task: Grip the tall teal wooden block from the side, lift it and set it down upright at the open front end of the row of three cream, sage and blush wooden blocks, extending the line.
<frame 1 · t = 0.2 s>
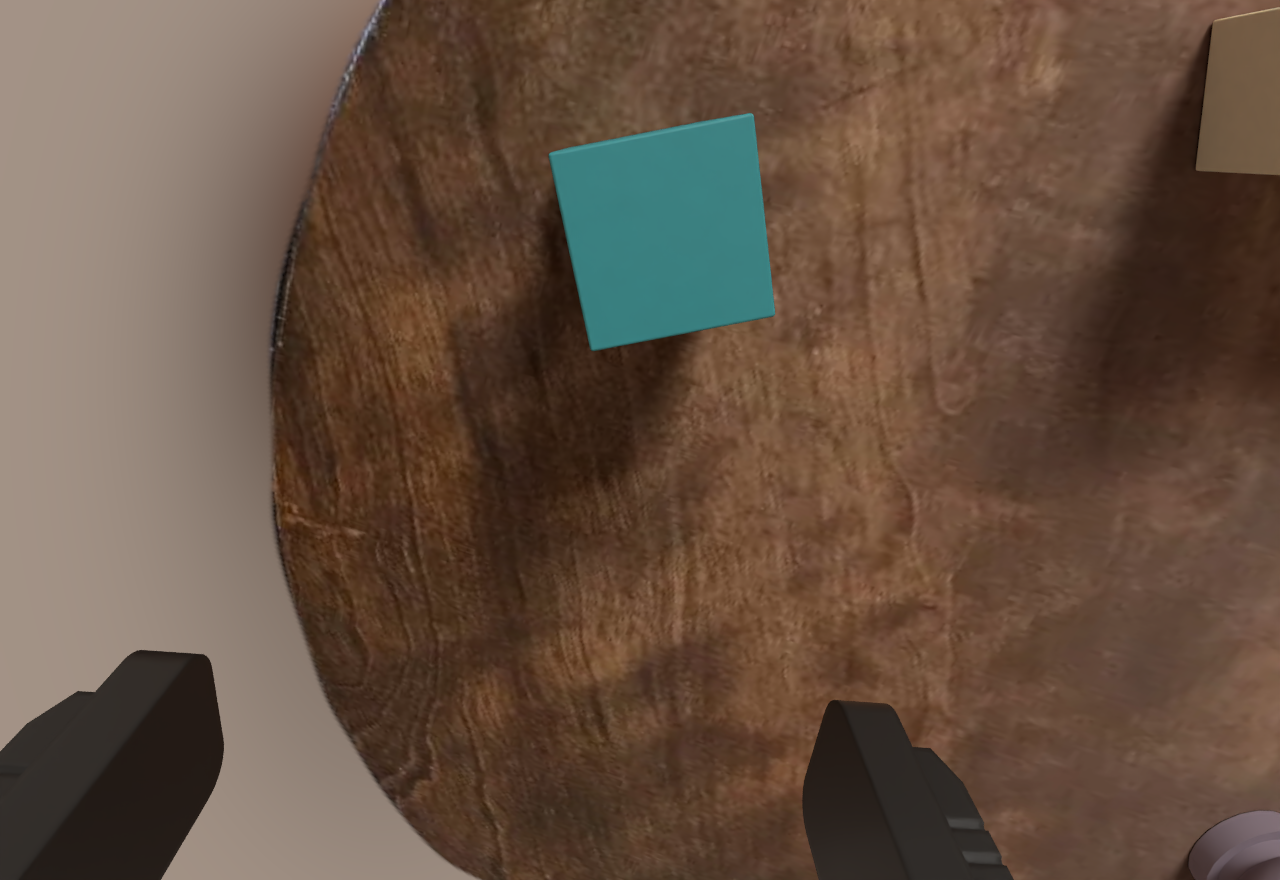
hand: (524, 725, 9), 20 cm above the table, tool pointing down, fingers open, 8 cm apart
line block 1: (1271, 85, 26), on the table
teal block: (645, 207, 26), on the table
cat figurine: (1241, 845, 42), on the table
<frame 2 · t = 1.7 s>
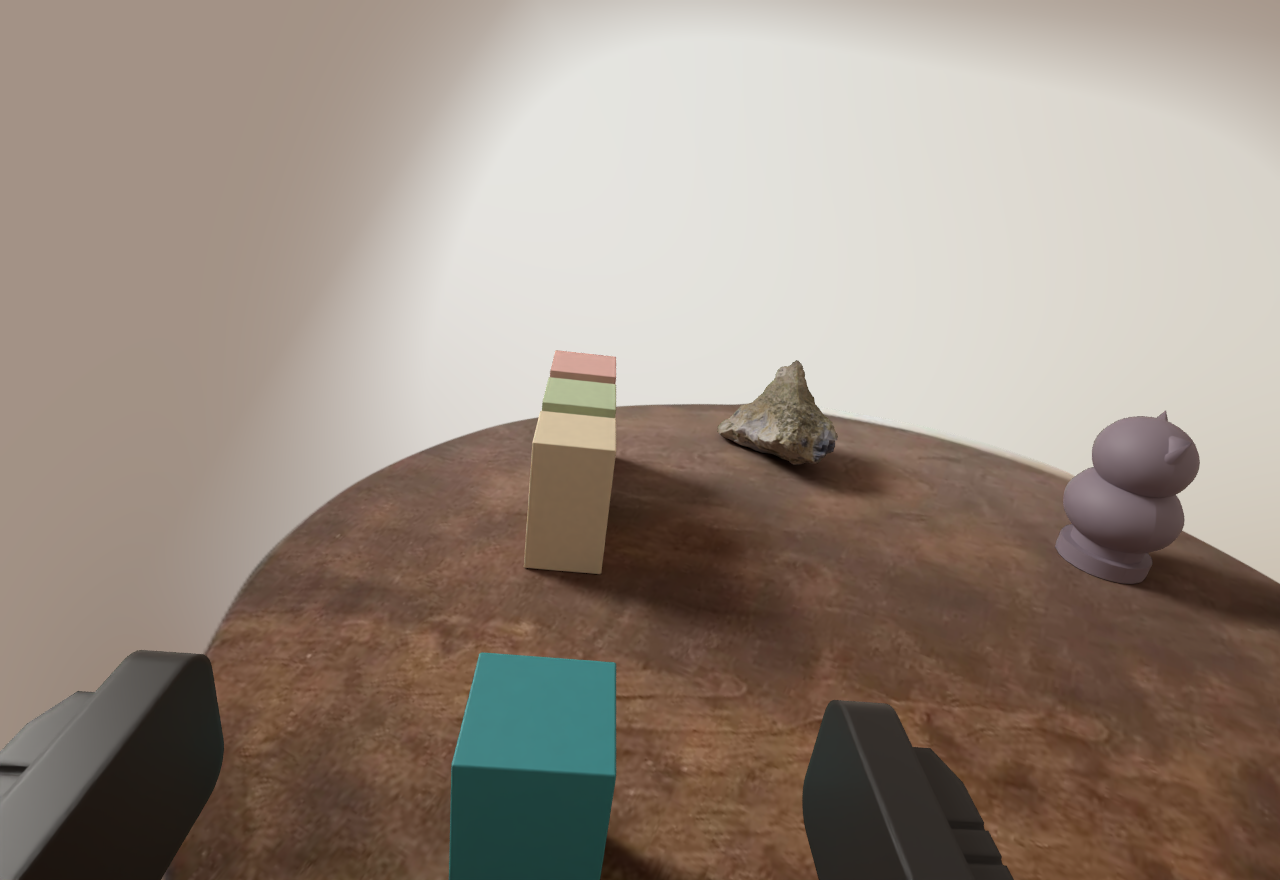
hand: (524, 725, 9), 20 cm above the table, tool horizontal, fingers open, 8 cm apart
line block 2: (570, 502, 55), on the table
line block 1: (565, 549, 49), on the table
rock: (771, 458, 67), on the table
cat figurine: (1096, 560, 57), on the table
line block 3: (574, 464, 60), on the table
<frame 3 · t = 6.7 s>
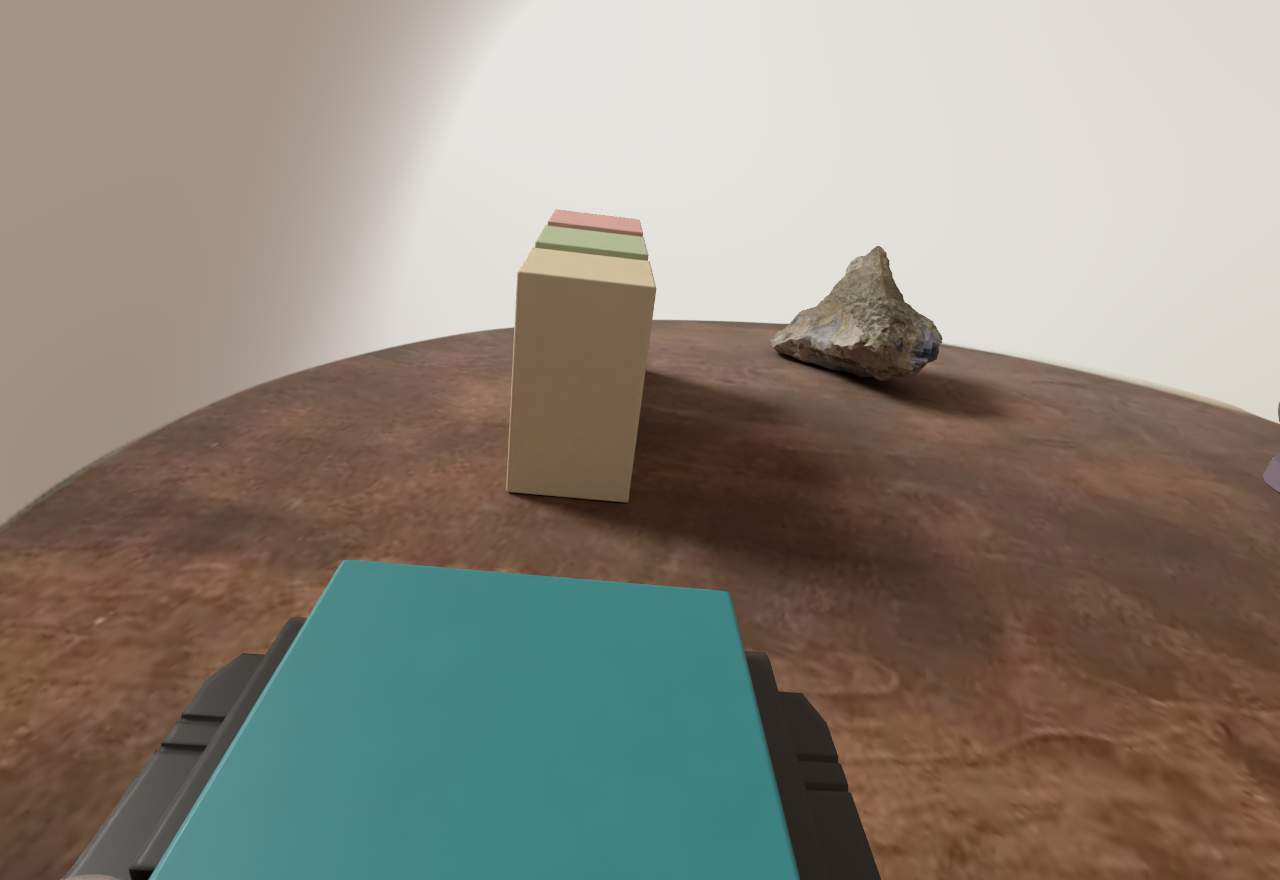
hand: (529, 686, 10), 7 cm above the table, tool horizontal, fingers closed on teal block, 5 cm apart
line block 2: (577, 414, 37), on the table
line block 1: (570, 470, 32), on the table
rock: (844, 376, 50), on the table
line block 3: (582, 373, 43), on the table
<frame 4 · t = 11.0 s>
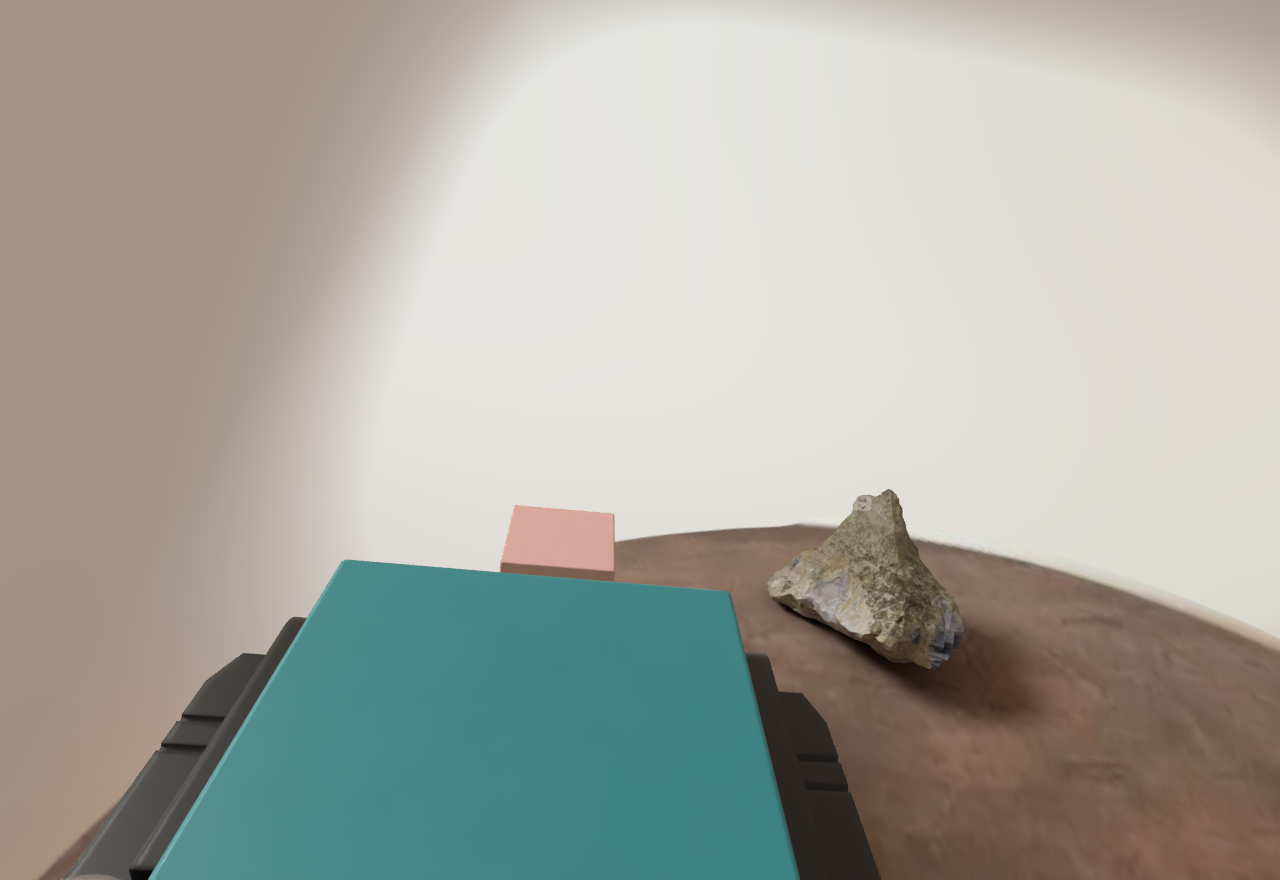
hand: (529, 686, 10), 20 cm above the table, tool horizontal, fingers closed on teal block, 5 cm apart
rock: (851, 639, 44), on the table
line block 3: (548, 682, 37), on the table
when the fingers open (7 cm above the table, at t = 15.4 s): teal block stays where it is, on the table.
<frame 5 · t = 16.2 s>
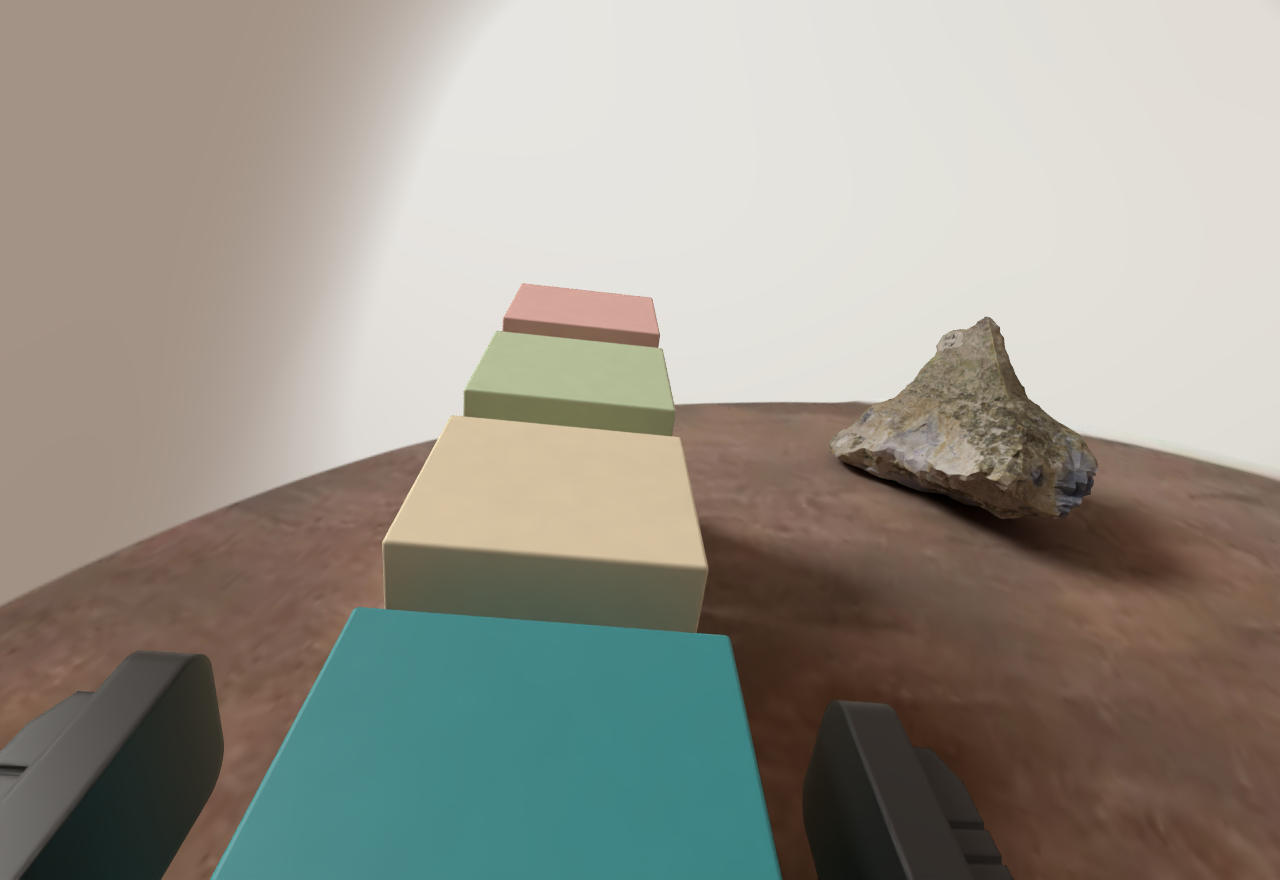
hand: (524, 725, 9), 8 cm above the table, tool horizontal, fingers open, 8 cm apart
line block 2: (552, 634, 23), on the table
line block 1: (531, 816, 17), on the table
rock: (941, 503, 35), on the table
line block 3: (565, 526, 29), on the table
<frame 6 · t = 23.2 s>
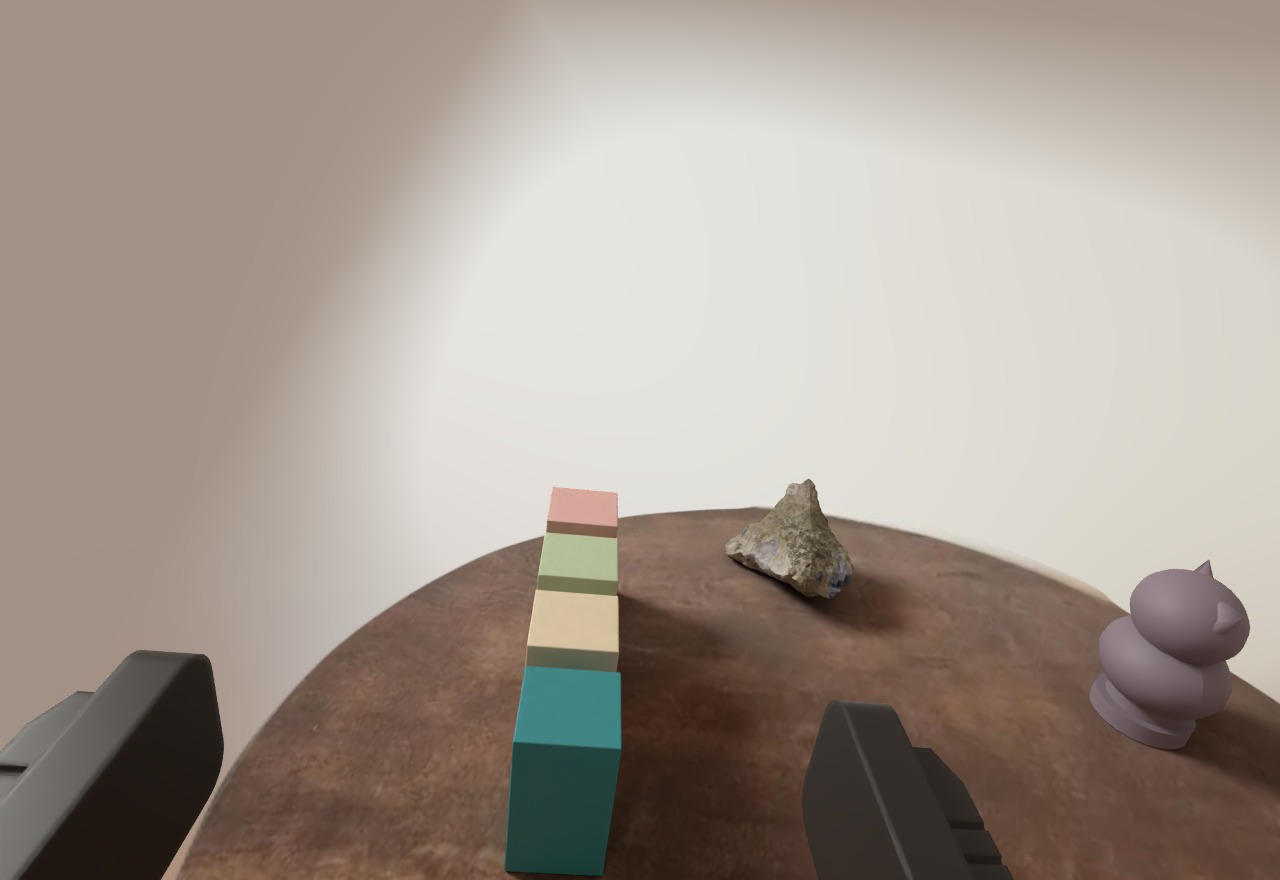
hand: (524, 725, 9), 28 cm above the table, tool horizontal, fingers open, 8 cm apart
line block 2: (569, 662, 51), on the table
line block 1: (563, 734, 45), on the table
teal block: (557, 829, 39), on the table
rock: (782, 583, 63), on the table
cat figurine: (1134, 715, 53), on the table
line block 3: (573, 604, 56), on the table
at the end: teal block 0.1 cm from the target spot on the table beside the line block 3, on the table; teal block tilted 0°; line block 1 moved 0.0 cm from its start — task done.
